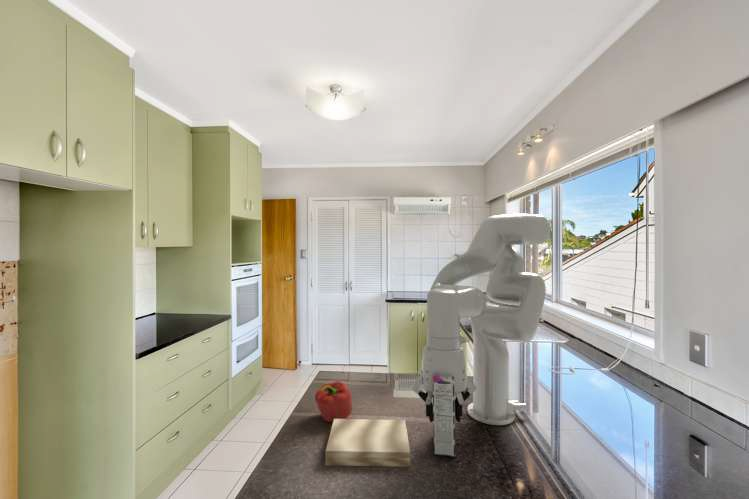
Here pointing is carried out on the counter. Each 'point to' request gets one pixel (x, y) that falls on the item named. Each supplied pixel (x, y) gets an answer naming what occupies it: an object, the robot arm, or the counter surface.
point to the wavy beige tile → (368, 443)
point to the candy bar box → (444, 416)
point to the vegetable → (334, 401)
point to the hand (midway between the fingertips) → (443, 418)
